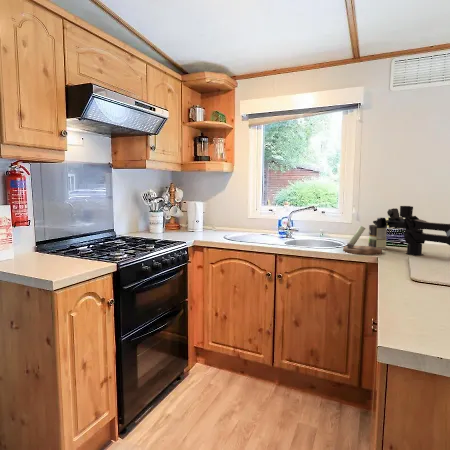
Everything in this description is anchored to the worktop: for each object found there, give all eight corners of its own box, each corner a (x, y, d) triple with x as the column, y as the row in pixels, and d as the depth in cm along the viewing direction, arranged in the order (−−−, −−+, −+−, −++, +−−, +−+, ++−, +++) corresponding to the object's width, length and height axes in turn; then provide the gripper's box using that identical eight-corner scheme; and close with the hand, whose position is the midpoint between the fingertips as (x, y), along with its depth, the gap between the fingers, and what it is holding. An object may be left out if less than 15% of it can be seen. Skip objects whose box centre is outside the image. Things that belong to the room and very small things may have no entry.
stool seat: (380, 250, 202) (380, 242, 202) (383, 255, 182) (383, 247, 182) (343, 248, 209) (343, 241, 209) (342, 253, 190) (342, 245, 190)
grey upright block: (366, 248, 209) (367, 225, 207) (369, 246, 217) (370, 224, 216) (385, 249, 203) (386, 226, 202) (386, 247, 212) (387, 225, 211)
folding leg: (353, 246, 199) (365, 228, 196) (353, 247, 196) (365, 228, 193) (347, 243, 200) (360, 225, 197) (347, 244, 197) (360, 225, 194)
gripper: (412, 209, 197) (390, 208, 211) (389, 209, 190) (367, 208, 204) (411, 228, 198) (389, 226, 212) (388, 229, 191) (367, 227, 205)
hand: (378, 221), depth 208 cm, fingers open, 9 cm apart
